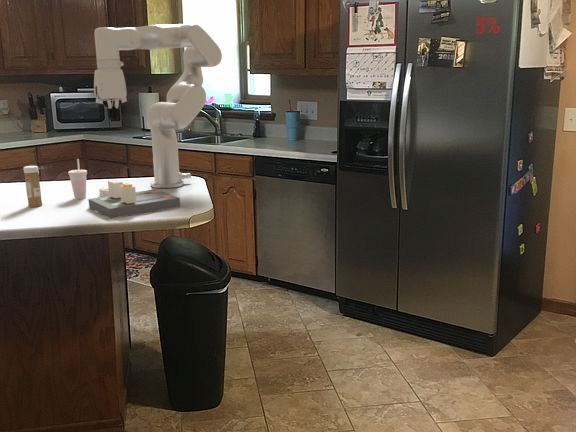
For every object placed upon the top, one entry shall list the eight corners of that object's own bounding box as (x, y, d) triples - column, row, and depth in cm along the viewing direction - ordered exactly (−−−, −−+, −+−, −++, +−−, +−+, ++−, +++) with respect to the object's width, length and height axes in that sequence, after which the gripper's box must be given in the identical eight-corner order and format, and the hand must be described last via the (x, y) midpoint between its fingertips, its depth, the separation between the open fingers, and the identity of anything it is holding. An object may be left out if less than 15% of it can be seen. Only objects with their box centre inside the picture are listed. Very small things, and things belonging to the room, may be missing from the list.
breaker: (117, 194, 208) (116, 179, 207) (123, 197, 204) (122, 182, 203) (109, 195, 206) (107, 181, 205) (115, 198, 203) (113, 183, 201)
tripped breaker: (129, 199, 200) (128, 182, 199) (136, 202, 197) (135, 184, 195) (121, 200, 199) (119, 183, 197) (127, 203, 195) (126, 186, 193)
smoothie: (83, 200, 216) (80, 160, 212) (67, 199, 217) (63, 160, 214) (93, 196, 222) (89, 157, 218) (76, 195, 223) (72, 157, 220)
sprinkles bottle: (42, 206, 207) (38, 166, 204) (28, 208, 206) (23, 167, 202) (42, 203, 211) (37, 164, 208) (27, 205, 210) (22, 165, 206)
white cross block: (95, 199, 218) (94, 189, 217) (105, 192, 230) (105, 182, 229) (129, 199, 218) (128, 189, 217) (138, 192, 229) (137, 182, 228)
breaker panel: (156, 197, 219) (155, 188, 218) (180, 206, 205) (179, 197, 204) (89, 207, 205) (88, 198, 204) (110, 218, 191) (109, 208, 190)
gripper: (125, 65, 218) (129, 117, 222) (83, 65, 209) (88, 120, 214) (133, 65, 212) (137, 119, 217) (91, 65, 203) (96, 122, 208)
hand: (113, 119), depth 215 cm, fingers closed
